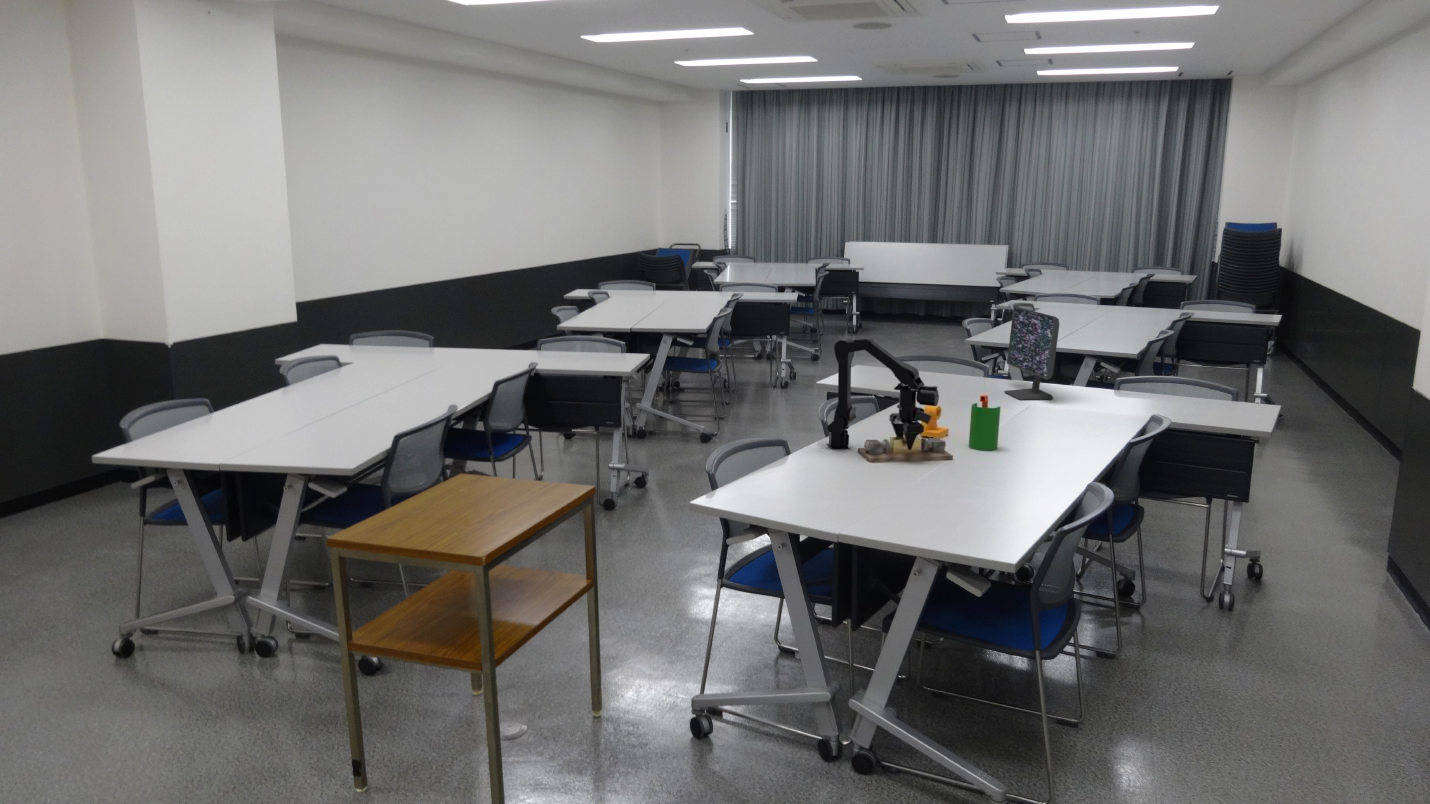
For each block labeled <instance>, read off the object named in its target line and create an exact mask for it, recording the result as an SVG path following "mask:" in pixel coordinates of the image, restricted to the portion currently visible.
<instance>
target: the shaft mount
mask: <svg viewBox="0 0 1430 804" xmlns="http://www.w3.org/2000/svg"><path fill="white" fill-rule="evenodd" d="M920 439H921V452H920V453H900V454H893V453H892V452H890V451H889V449H890V439H887V438H886V439H885V438H884V439H883V440H882V441H880V440H878V439H866V440H865V441H864V443H863V444H864V445H863V446H864V447H858V448H857V453H858V454H859V455H860V454H861V457H863V459H865V458H866V459H867V460H866V461H868V462H869V463H870V462H872V463H890V462H889V461H903V462H926V461H928V462H930V460H934V461H953V460H954V455H953V454H951V453H949V452H948V451H947V450H945V449H946V446H947V442H946V440H945V439H942V438H941V439H940V438H931V437H925V438H923V437H921V438H920Z"/></svg>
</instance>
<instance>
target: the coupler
mask: <svg viewBox="0 0 1430 804" xmlns="http://www.w3.org/2000/svg"><path fill="white" fill-rule="evenodd" d="M921 439H922V438H920V437H919V436H917V437H916V439H915V441H914V444H913V446H912V449H911V450H908V448H907V444H906V440H905V437H904V436H903V437H896V436H890V437H889V444H890V449H889V451H890V452H892V453H893V454H900V453H920V452H921Z"/></svg>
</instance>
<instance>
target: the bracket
mask: <svg viewBox="0 0 1430 804" xmlns="http://www.w3.org/2000/svg"><path fill="white" fill-rule="evenodd" d="M923 409H924V412H925V413H927V414H929V415H931V419H930V421H929V424H926V423H925V422H922V421H921V422H920V423H921V424H922V425H923V426H924V432H922V433H921V434H919V436H922V437H926V436H927V437H926V438H931V437H933V438H941V439H944V438H946V437H947V435H949V431H950V428H948V427H945V426H944V427H943V426H938V422H937V421H939V420H940V418H941V415H942V407H941V405H937V406H928V405H925V407H924V408H923ZM945 436H946V437H945Z"/></svg>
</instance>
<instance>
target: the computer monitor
mask: <svg viewBox="0 0 1430 804" xmlns="http://www.w3.org/2000/svg"><path fill="white" fill-rule="evenodd" d="M1012 309H1013V310H1012V317H1011V326H1010V327H1011V328H1010V333H1009V334H1010V335H1009V343H1008V350H1007V351H1008V352H1007V359H1006V364H1007V365H1010V366H1011V367H1015V368H1017V369H1020V370H1022V371H1024V372H1025V373H1026V372H1027V373H1029V374H1031V375H1033V379H1032V385H1031V386H1032V387H1030V388H1021V389H1020V388H1019V389H1008V390H1004V391H1003V392H1004V393H1005V394H1007V395H1009V396H1010V397H1013V398H1015V399H1017V400H1019V401H1051V400H1053V399H1054V396H1053V395H1052V394H1051V393H1049V392H1046V391H1043V390H1042V389H1040V386H1041V385H1040V384H1041V379H1044V380H1046V381H1048V380H1051V378H1052V376H1053V375H1054V370H1055V360H1056V354H1057V346H1058V339H1059V338H1058V337H1059V333H1060V332H1059V329H1060V319H1059V318H1058V317H1057V316H1054V315H1050V314H1047V313H1042V312H1039V311H1034V310H1031V309H1027V308H1023V307H1019V306H1016V305H1014V306H1013V308H1012Z"/></svg>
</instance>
